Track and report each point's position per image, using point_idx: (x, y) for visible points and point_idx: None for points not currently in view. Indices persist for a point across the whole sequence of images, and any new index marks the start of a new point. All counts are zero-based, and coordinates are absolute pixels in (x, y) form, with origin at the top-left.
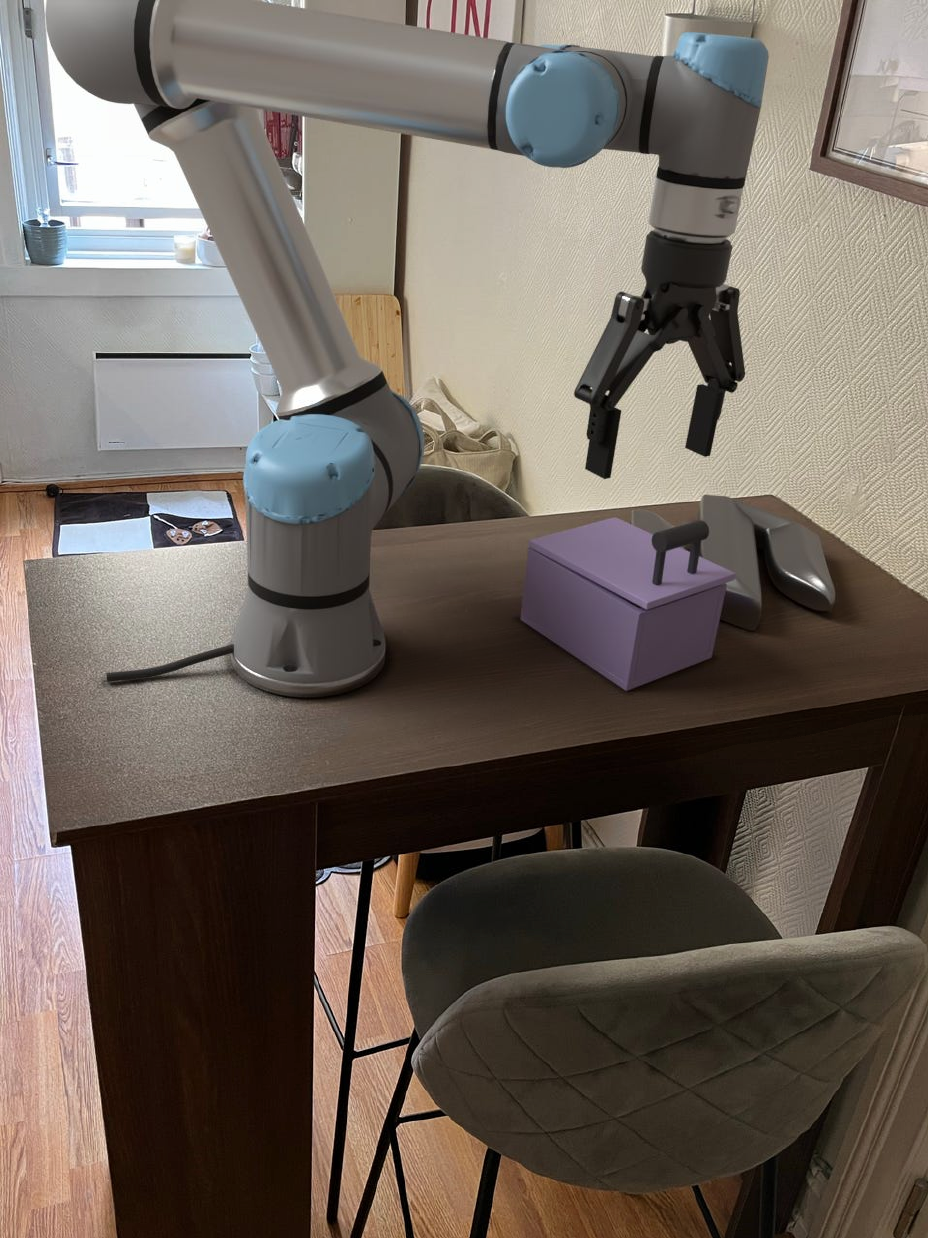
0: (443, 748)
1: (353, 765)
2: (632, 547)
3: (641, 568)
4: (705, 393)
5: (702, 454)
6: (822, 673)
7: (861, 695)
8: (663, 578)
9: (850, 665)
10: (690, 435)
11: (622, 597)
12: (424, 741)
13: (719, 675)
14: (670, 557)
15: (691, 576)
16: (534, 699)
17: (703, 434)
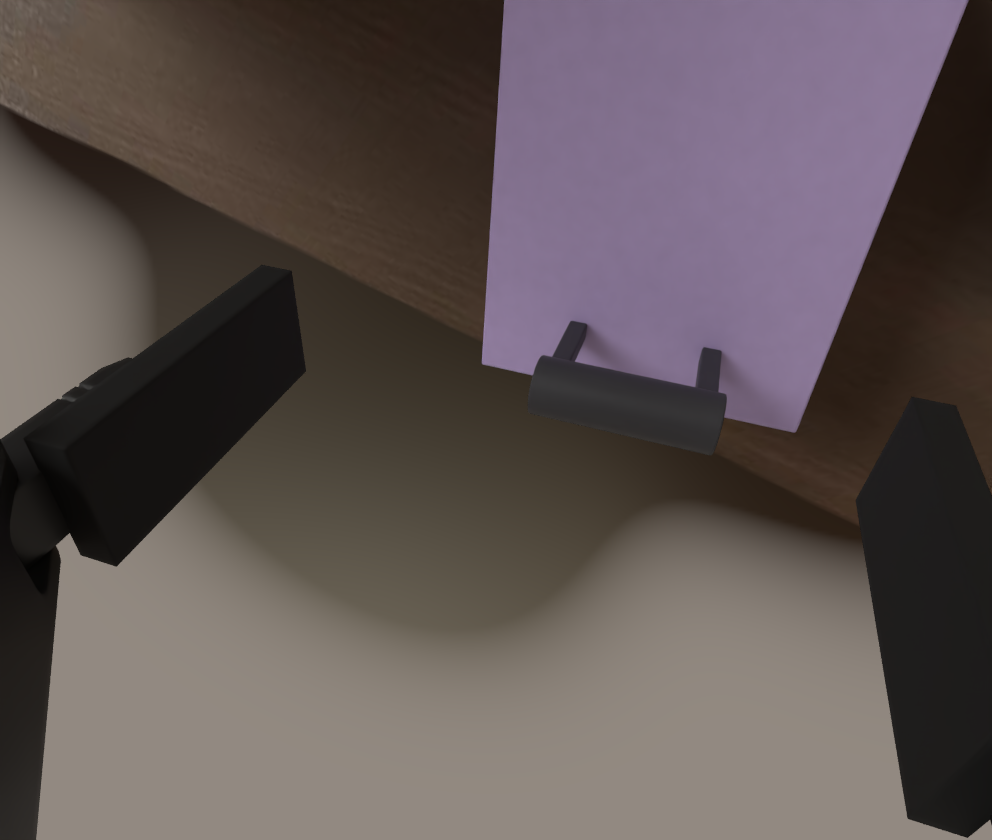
0: (195, 160)
1: (67, 104)
2: (748, 134)
3: (627, 250)
4: (953, 730)
5: (863, 491)
6: None
7: None
8: (618, 324)
9: None
10: (917, 459)
11: None
12: (175, 126)
13: None
14: (765, 263)
15: (685, 367)
16: (388, 157)
17: (884, 548)
